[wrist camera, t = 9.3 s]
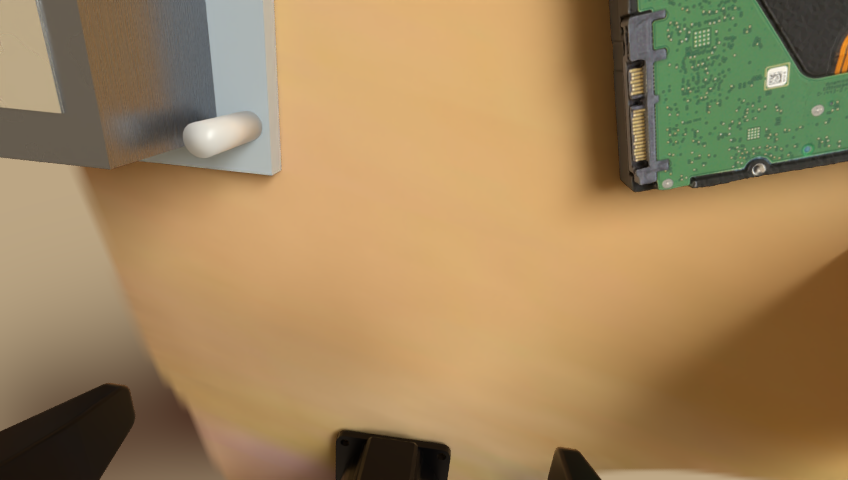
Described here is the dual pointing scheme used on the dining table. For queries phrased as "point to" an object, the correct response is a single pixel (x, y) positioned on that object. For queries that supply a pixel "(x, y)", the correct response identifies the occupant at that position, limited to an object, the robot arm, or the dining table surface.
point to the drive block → (101, 79)
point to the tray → (237, 94)
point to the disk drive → (728, 89)
